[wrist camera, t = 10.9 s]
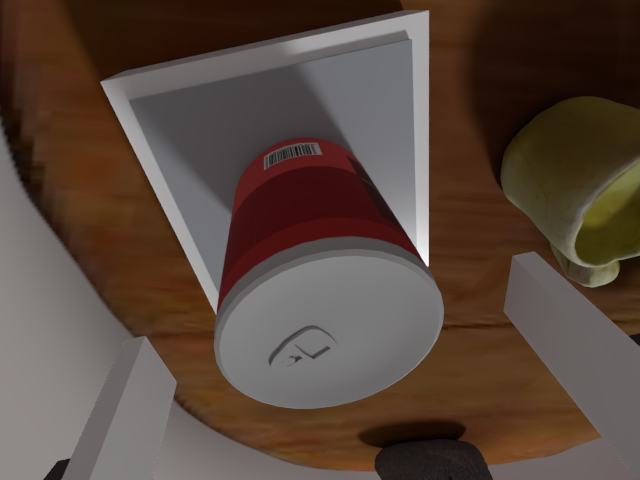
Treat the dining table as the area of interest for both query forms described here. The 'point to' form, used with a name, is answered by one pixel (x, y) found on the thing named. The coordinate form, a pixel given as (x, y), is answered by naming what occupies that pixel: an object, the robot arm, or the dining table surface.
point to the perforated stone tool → (432, 461)
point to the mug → (580, 183)
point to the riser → (281, 122)
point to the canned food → (319, 283)
